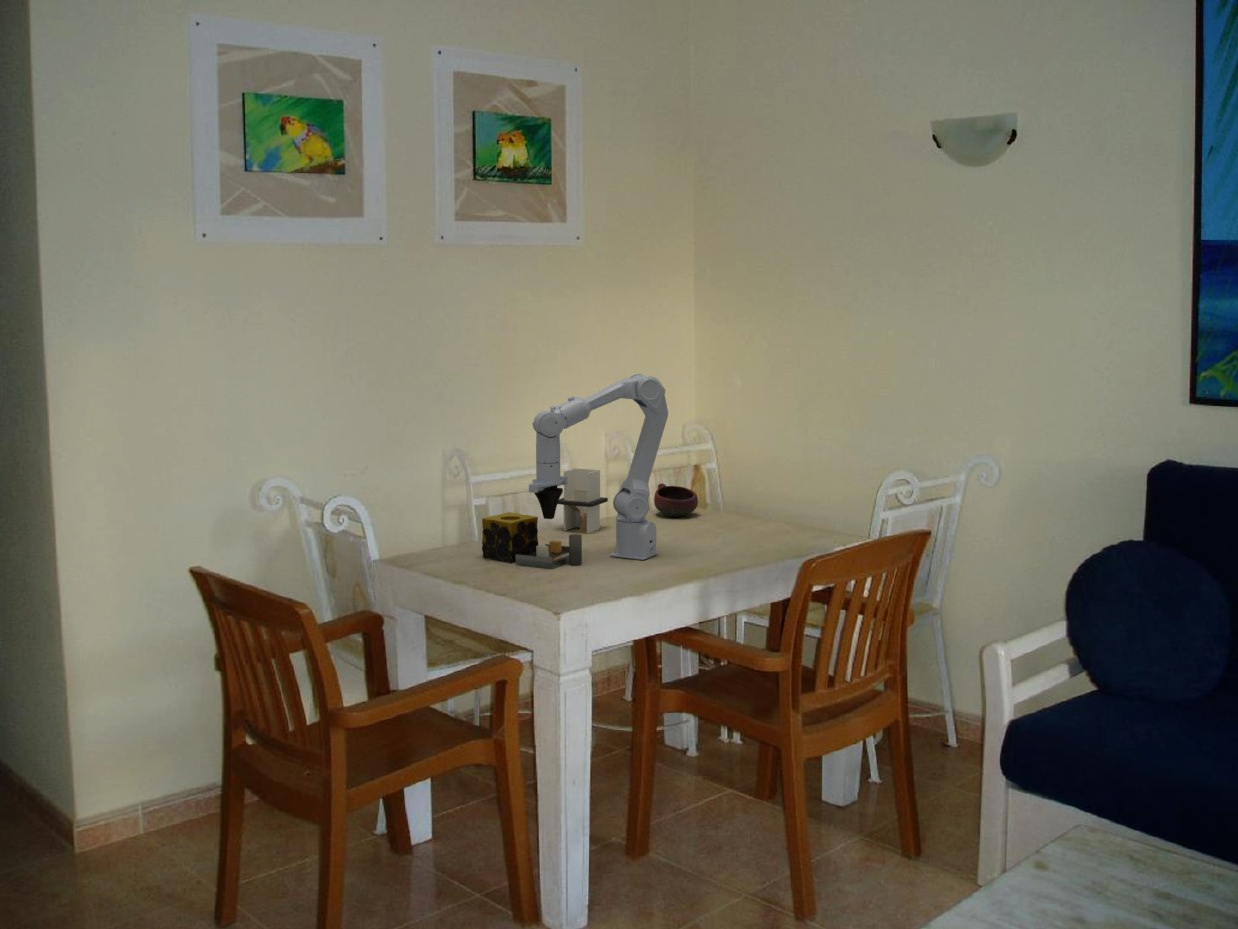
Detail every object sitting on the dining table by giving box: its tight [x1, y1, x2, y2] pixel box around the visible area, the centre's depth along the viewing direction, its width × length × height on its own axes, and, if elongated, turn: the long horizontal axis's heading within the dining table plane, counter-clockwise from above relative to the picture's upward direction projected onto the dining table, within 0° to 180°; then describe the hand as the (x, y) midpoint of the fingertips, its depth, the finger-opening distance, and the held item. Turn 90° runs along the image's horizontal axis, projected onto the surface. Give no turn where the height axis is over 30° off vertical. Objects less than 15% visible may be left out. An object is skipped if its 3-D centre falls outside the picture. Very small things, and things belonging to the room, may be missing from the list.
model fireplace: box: [557, 467, 609, 534], centre depth 345 cm, size 25×24×16 cm
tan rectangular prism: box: [549, 540, 563, 553], centre depth 309 cm, size 2×2×2 cm
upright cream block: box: [536, 544, 549, 557], centre depth 304 cm, size 2×2×2 cm
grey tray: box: [515, 543, 569, 570], centre depth 307 cm, size 10×14×2 cm
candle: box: [481, 511, 539, 564], centre depth 311 cm, size 10×10×10 cm
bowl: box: [653, 483, 699, 517], centre depth 367 cm, size 16×13×8 cm
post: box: [568, 533, 583, 567], centre depth 303 cm, size 3×3×7 cm
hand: (548, 518), depth 306 cm, fingers closed
